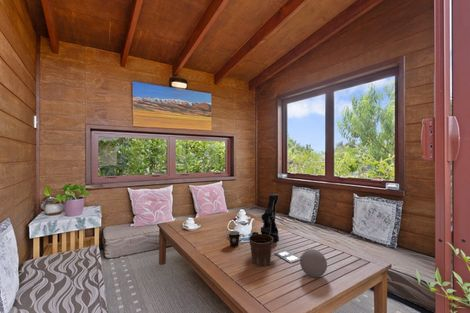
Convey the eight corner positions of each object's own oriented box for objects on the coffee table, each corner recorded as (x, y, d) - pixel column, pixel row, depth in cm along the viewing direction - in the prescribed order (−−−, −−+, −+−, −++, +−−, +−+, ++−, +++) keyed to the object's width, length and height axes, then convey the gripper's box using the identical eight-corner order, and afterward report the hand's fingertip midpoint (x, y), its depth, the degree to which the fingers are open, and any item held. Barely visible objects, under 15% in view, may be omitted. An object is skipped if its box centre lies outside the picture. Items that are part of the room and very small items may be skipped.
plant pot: (272, 269, 142) (272, 244, 142) (246, 266, 146) (246, 241, 146) (274, 258, 158) (274, 234, 158) (251, 255, 162) (251, 233, 162)
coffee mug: (226, 246, 179) (226, 233, 179) (232, 242, 187) (231, 230, 187) (240, 249, 174) (239, 235, 174) (245, 244, 181) (244, 232, 181)
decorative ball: (295, 275, 135) (295, 250, 135) (307, 266, 145) (307, 243, 145) (320, 286, 124) (319, 258, 124) (331, 275, 135) (331, 250, 135)
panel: (285, 251, 169) (285, 250, 169) (301, 259, 155) (301, 258, 155) (274, 254, 164) (274, 253, 164) (290, 263, 150) (290, 262, 150)
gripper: (252, 220, 167) (248, 241, 156) (278, 223, 160) (275, 244, 150) (255, 228, 174) (251, 248, 164) (280, 230, 168) (277, 251, 157)
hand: (263, 248), depth 158 cm, fingers closed
